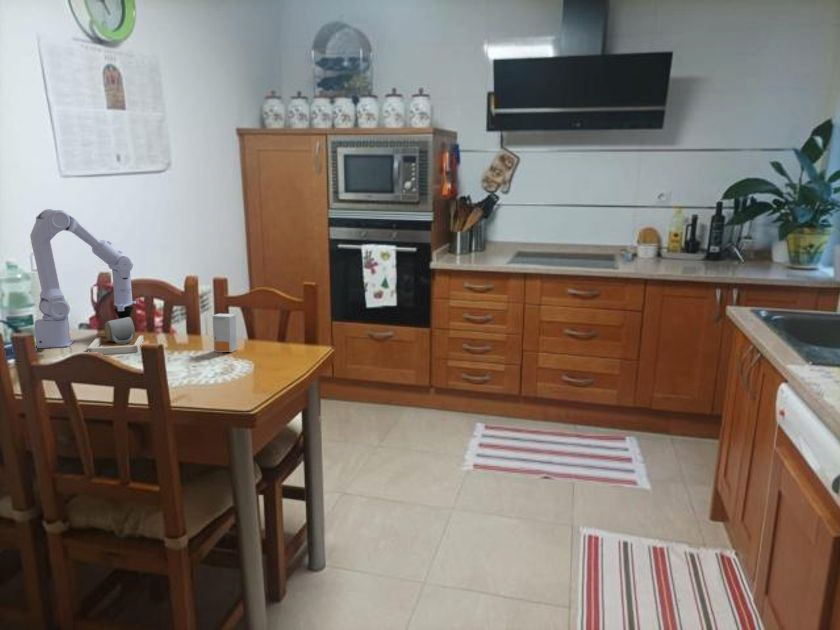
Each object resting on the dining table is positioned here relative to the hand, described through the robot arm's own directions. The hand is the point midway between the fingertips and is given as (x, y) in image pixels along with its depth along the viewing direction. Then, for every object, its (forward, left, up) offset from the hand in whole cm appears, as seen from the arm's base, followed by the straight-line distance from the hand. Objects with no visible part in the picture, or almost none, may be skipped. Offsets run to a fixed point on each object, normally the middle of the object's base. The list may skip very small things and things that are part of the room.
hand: (125, 327), depth 223 cm
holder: (0, -20, -2) cm, 20 cm away
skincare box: (+34, -34, -3) cm, 48 cm away
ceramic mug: (0, -11, -3) cm, 11 cm away
